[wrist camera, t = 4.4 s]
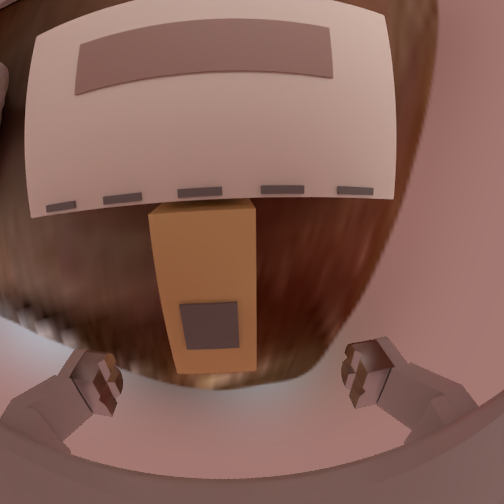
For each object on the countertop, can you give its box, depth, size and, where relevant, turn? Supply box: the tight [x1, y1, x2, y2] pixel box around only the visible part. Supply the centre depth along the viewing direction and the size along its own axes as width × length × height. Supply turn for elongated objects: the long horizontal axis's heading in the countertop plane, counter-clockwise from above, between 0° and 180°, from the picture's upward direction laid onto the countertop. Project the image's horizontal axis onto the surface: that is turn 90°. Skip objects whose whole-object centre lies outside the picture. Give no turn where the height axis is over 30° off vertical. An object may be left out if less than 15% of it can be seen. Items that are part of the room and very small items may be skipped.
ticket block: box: [25, 0, 396, 218], centre depth 10 cm, size 16×9×5 cm, turn 91°
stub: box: [148, 198, 257, 374], centre depth 13 cm, size 4×8×5 cm, turn 1°
